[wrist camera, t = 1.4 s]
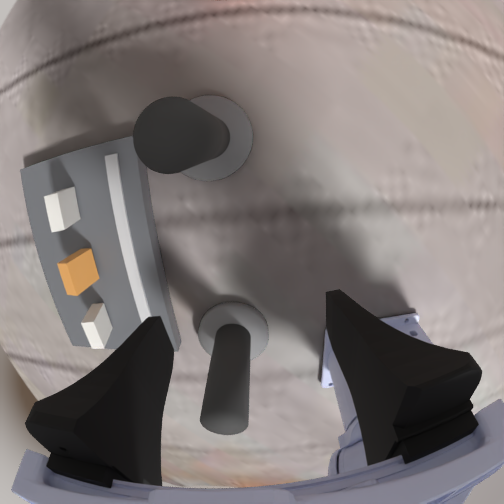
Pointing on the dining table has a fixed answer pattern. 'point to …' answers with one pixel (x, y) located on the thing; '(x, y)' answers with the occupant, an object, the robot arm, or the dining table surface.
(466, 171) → the dining table surface
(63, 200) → the block
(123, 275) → the breaker panel
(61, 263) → the block
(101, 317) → the block
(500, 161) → the dining table surface
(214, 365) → the rubber post
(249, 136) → the rubber post
